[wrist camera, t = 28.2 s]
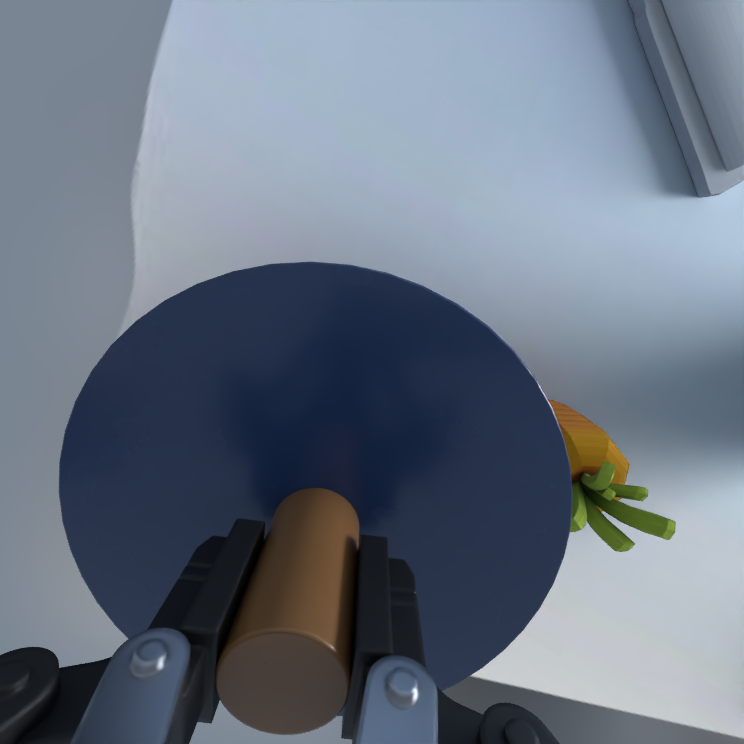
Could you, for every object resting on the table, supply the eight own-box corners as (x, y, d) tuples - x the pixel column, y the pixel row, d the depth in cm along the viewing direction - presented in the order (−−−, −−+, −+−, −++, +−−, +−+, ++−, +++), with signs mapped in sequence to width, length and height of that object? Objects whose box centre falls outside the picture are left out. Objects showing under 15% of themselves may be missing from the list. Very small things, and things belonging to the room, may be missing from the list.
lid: (367, 133, 11) (360, 7, 5) (654, 558, 14) (832, 748, 8) (-37, 469, 13) (-321, 617, 8) (286, 765, 16) (244, 1014, 11)
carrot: (462, 418, 31) (542, 561, 16) (498, 358, 30) (617, 455, 15) (521, 446, 31) (649, 609, 17) (559, 389, 30) (730, 510, 16)
